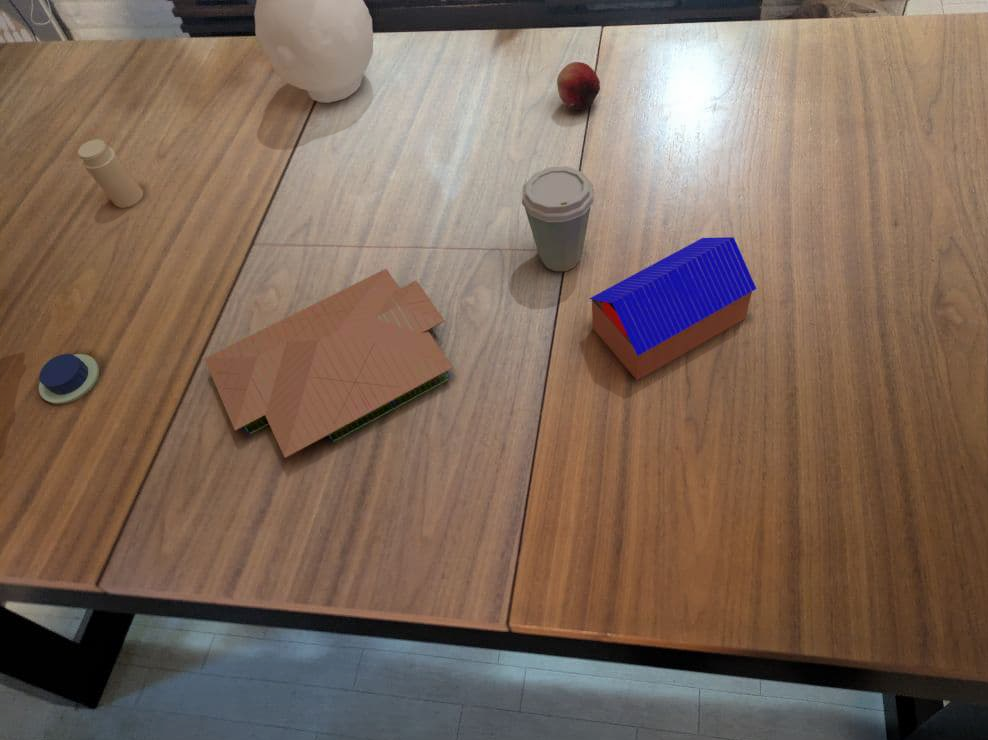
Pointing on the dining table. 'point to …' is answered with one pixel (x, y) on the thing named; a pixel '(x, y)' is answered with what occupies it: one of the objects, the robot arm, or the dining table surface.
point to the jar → (110, 173)
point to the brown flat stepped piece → (332, 362)
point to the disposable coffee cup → (558, 214)
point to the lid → (63, 374)
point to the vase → (316, 44)
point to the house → (674, 304)
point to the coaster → (78, 393)
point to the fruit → (578, 85)
